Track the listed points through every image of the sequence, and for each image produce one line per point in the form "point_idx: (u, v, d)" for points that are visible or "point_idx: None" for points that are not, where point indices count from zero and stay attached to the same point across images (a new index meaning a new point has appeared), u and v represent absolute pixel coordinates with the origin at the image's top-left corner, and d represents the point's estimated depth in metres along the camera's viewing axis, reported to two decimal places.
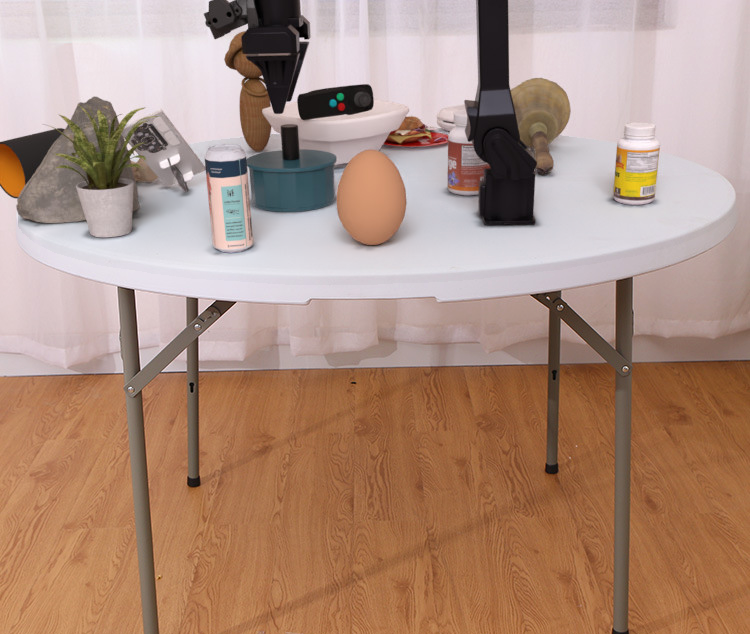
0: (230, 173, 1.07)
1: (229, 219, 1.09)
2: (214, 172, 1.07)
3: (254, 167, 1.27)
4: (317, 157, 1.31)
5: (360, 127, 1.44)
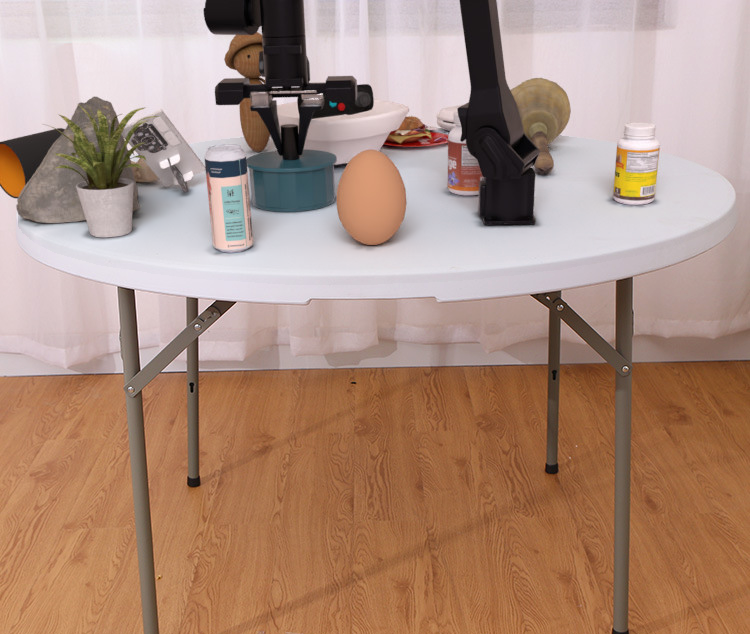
0: (230, 173, 1.07)
1: (229, 219, 1.09)
2: (214, 172, 1.07)
3: (254, 167, 1.27)
4: (317, 157, 1.31)
5: (360, 127, 1.44)
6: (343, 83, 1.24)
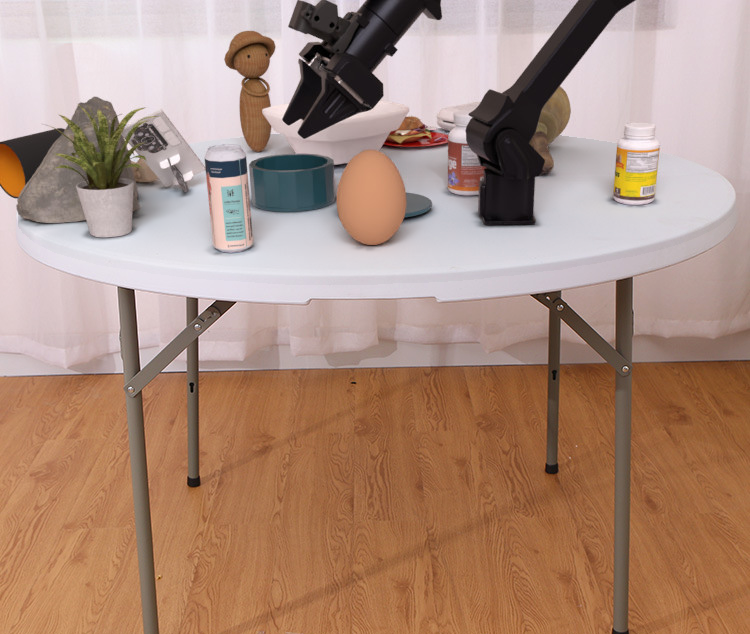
0: (230, 173, 1.07)
1: (229, 219, 1.09)
2: (214, 172, 1.07)
3: None
4: (412, 201, 1.27)
5: (360, 127, 1.44)
6: None
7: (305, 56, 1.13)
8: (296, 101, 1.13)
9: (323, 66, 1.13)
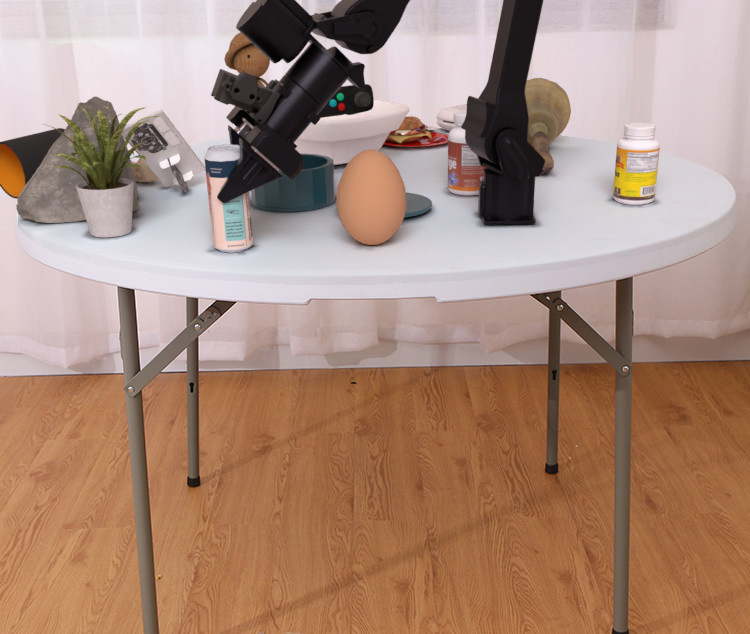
0: None
1: (229, 219, 1.09)
2: (214, 172, 1.07)
3: None
4: (412, 201, 1.27)
5: (360, 127, 1.44)
6: None
7: (231, 121, 1.13)
8: None
9: None
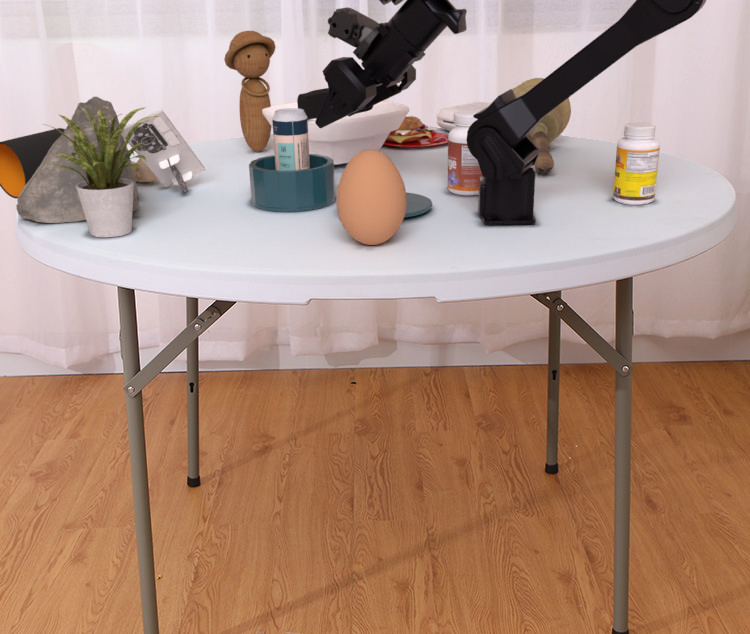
0: (283, 132, 1.27)
1: None
2: (274, 130, 1.28)
3: None
4: (412, 201, 1.27)
5: (360, 127, 1.44)
6: (413, 74, 1.27)
7: None
8: None
9: None
